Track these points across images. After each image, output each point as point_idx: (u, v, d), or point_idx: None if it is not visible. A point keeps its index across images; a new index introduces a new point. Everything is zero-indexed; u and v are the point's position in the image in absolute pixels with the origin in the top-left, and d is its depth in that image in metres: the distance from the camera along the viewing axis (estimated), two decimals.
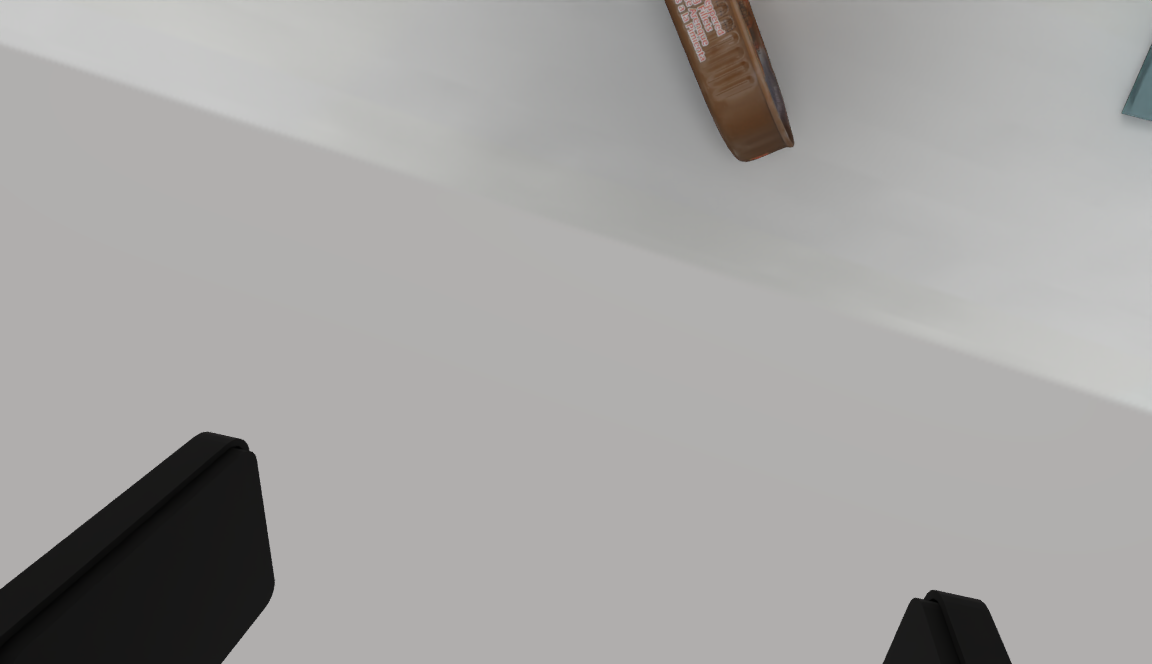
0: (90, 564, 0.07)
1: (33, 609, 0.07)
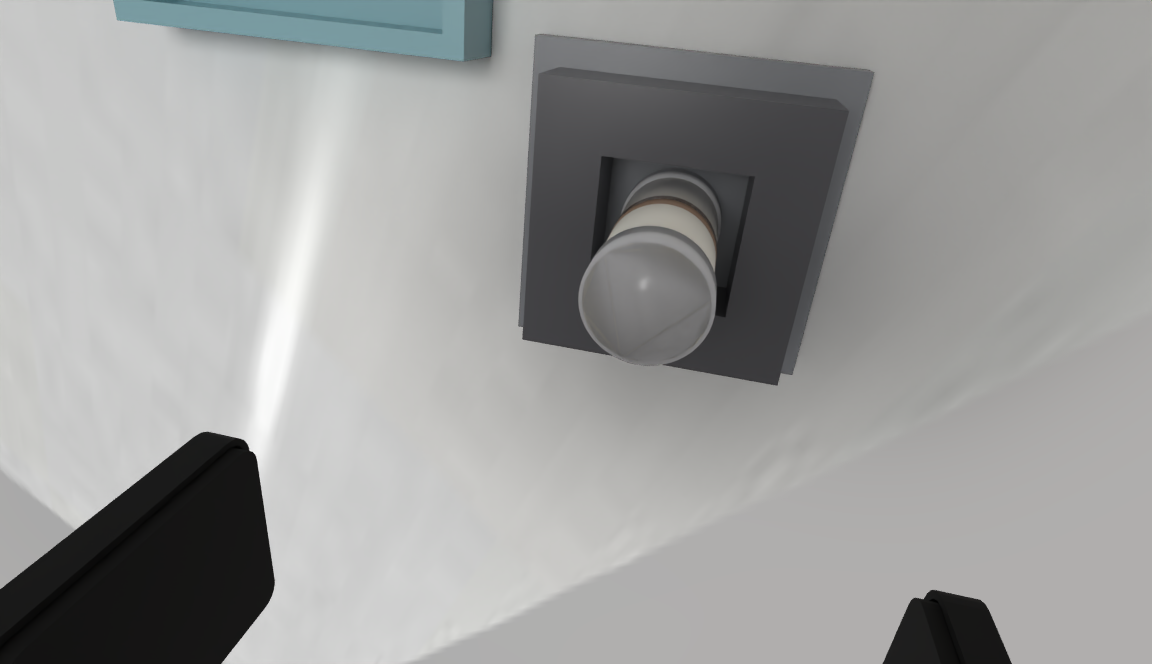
0: (90, 564, 0.07)
1: (33, 609, 0.07)
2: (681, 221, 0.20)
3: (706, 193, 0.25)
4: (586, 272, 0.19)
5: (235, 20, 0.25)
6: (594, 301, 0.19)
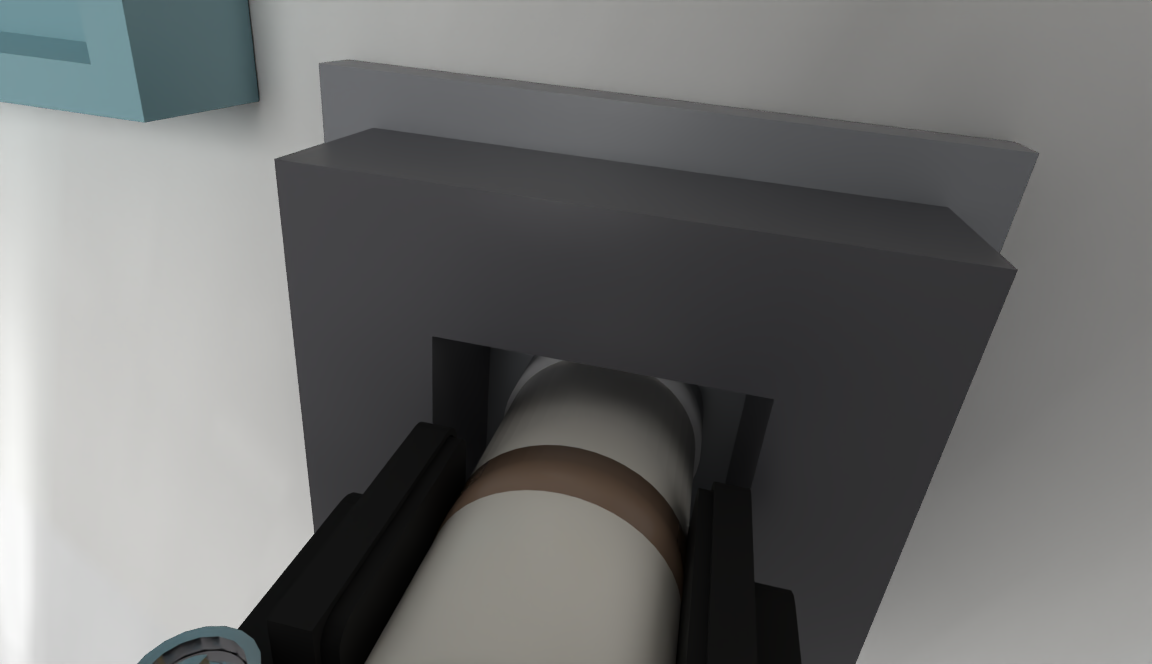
0: (376, 540, 0.08)
1: (348, 579, 0.07)
2: (580, 589, 0.07)
3: (670, 391, 0.12)
4: None
5: None
6: None
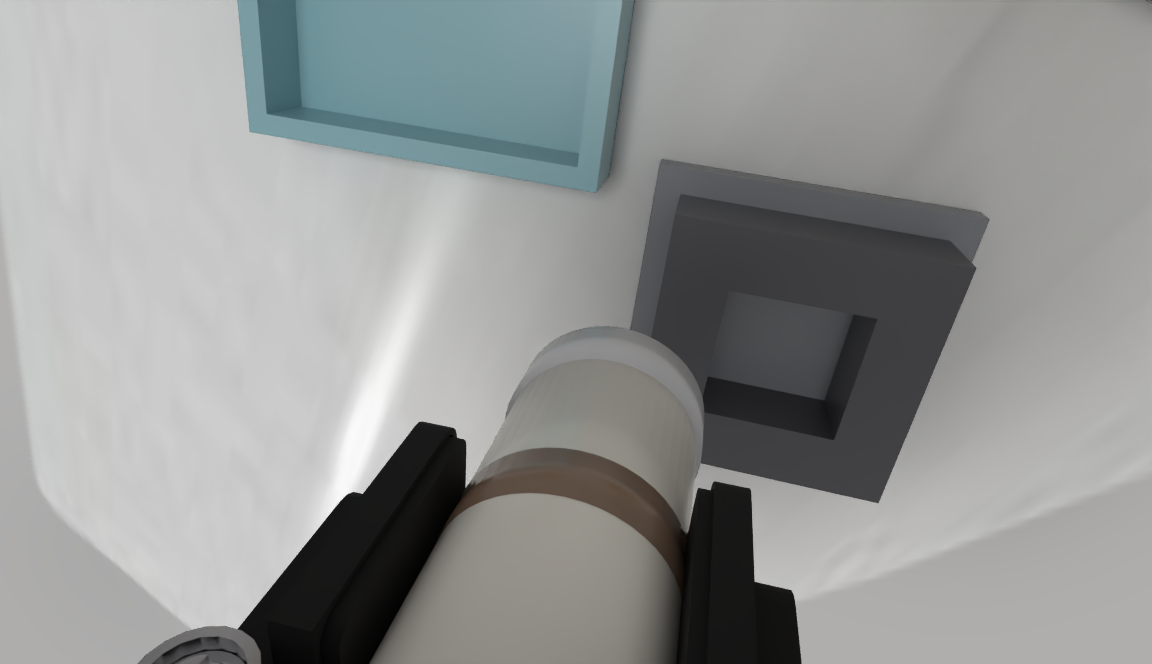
0: (376, 540, 0.08)
1: (348, 578, 0.07)
2: (583, 592, 0.07)
3: (671, 394, 0.12)
4: None
5: (370, 141, 0.26)
6: None
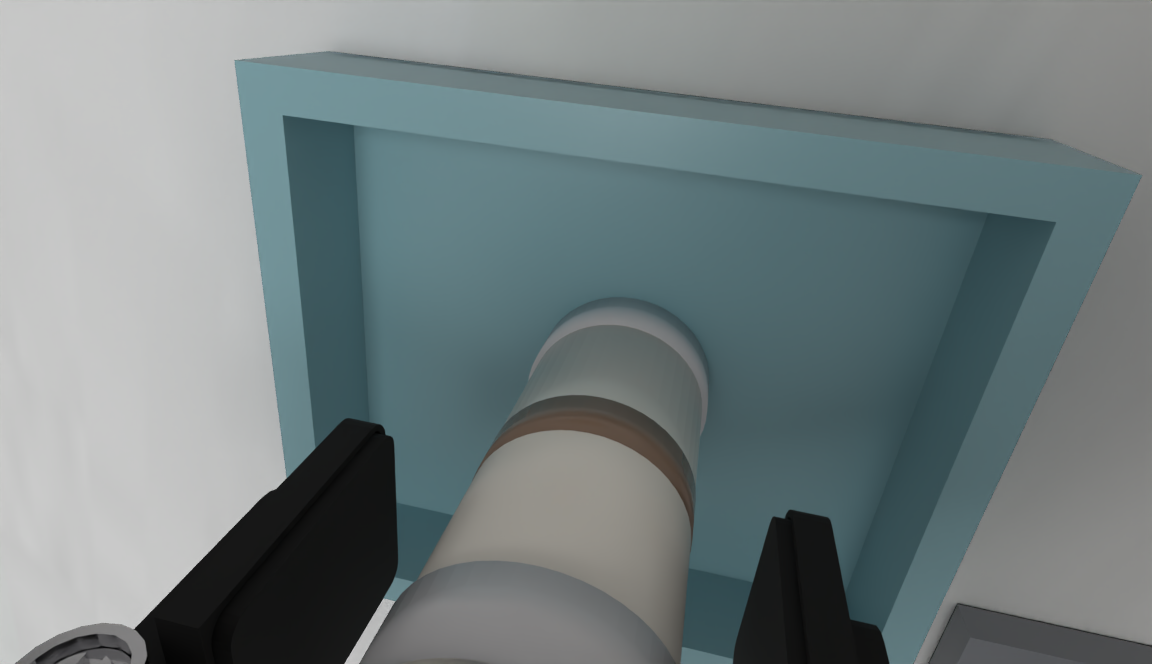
0: (281, 536, 0.08)
1: (246, 574, 0.07)
2: (607, 505, 0.09)
3: (679, 356, 0.13)
4: None
5: None
6: None
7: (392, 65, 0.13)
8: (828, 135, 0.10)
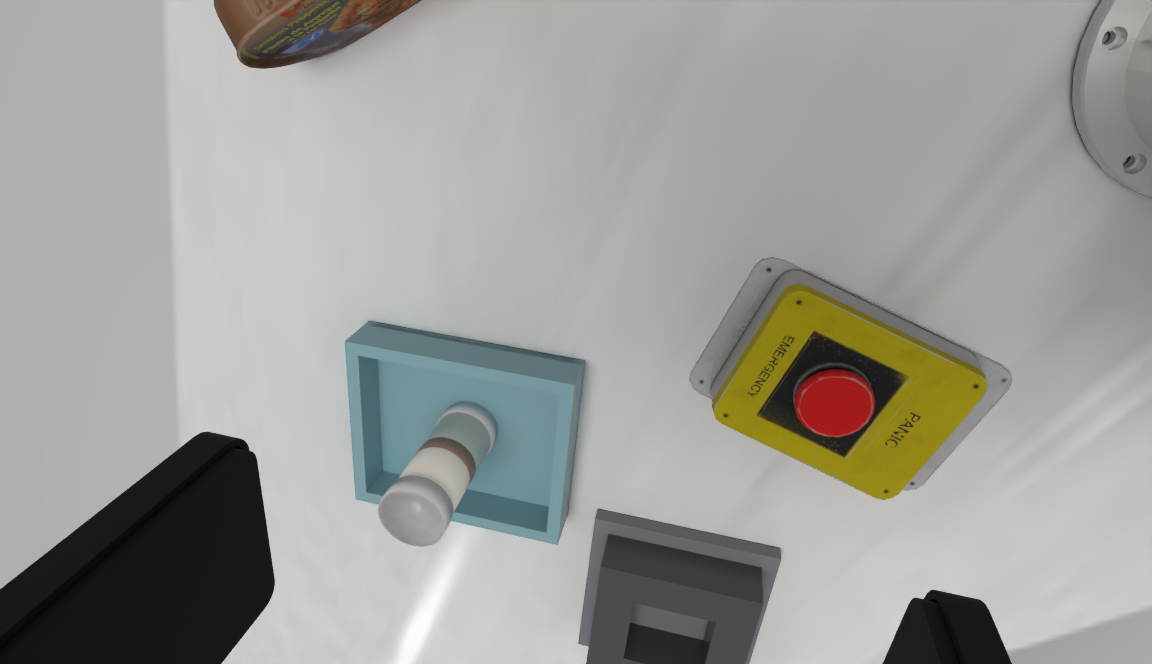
0: (91, 565, 0.07)
1: (34, 608, 0.07)
2: (440, 465, 0.37)
3: (481, 422, 0.42)
4: (380, 502, 0.36)
5: None
6: (386, 515, 0.36)
7: (389, 333, 0.41)
8: (502, 371, 0.38)
